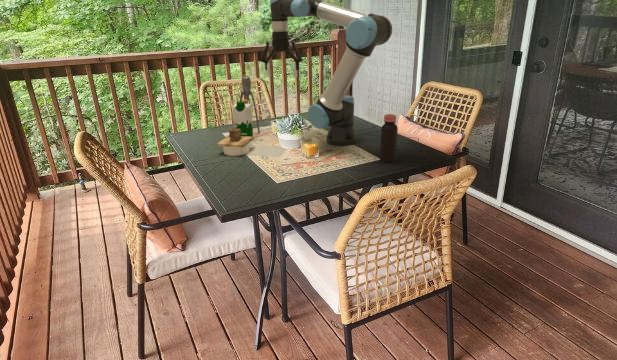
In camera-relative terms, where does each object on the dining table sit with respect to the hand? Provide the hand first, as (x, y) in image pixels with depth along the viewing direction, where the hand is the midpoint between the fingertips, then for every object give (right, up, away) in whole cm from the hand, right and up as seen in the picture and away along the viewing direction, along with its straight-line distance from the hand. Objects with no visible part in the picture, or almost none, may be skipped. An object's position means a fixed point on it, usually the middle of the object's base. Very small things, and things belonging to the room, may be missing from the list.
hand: (282, 77), depth 203 cm
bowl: (-21, -37, -7) cm, 43 cm away
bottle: (+47, -42, -20) cm, 66 cm away
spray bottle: (-19, -24, +25) cm, 40 cm away
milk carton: (-20, -30, +11) cm, 38 cm away
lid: (-21, -33, -9) cm, 40 cm away
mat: (-6, -37, -7) cm, 38 cm away
